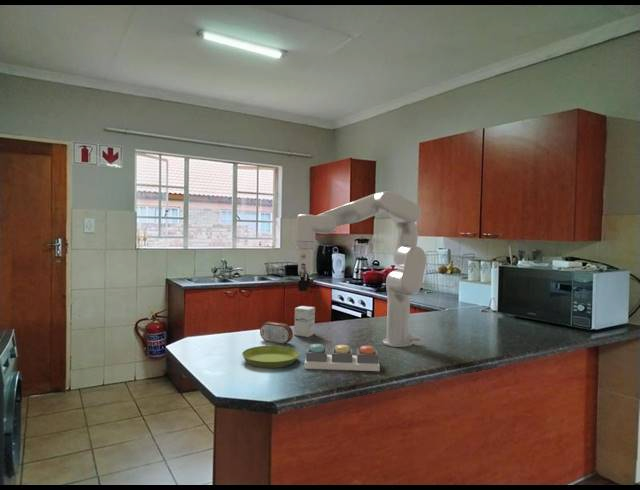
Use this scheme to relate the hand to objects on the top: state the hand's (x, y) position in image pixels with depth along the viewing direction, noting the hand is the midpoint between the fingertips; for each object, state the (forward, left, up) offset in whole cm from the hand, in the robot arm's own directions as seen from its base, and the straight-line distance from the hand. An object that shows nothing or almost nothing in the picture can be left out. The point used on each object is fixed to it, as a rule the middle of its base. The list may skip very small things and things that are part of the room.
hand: (304, 289), depth 172 cm
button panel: (-15, +16, -25) cm, 33 cm away
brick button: (-24, +16, -21) cm, 36 cm away
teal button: (-6, +16, -21) cm, 27 cm away
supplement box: (+2, -27, -25) cm, 37 cm away
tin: (+13, -12, -25) cm, 31 cm away
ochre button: (-15, +16, -21) cm, 30 cm away
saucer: (+11, +14, -25) cm, 31 cm away
